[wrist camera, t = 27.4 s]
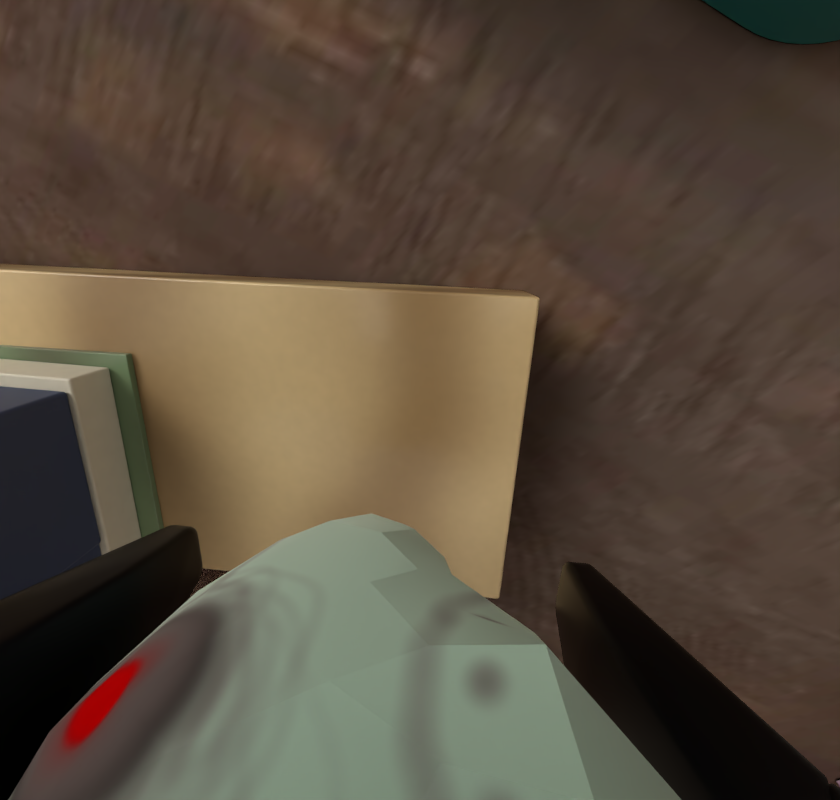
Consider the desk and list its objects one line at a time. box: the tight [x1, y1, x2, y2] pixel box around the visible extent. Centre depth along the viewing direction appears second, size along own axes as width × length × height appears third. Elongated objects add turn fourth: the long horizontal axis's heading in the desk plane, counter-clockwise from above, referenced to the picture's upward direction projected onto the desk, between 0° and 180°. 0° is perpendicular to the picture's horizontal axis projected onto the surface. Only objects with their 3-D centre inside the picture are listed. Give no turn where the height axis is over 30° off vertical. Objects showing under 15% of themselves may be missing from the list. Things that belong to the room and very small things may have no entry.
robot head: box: [8, 513, 681, 800], centre depth 5 cm, size 8×4×7 cm, turn 122°
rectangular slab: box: [0, 264, 540, 599], centre depth 13 cm, size 20×9×3 cm, turn 87°
